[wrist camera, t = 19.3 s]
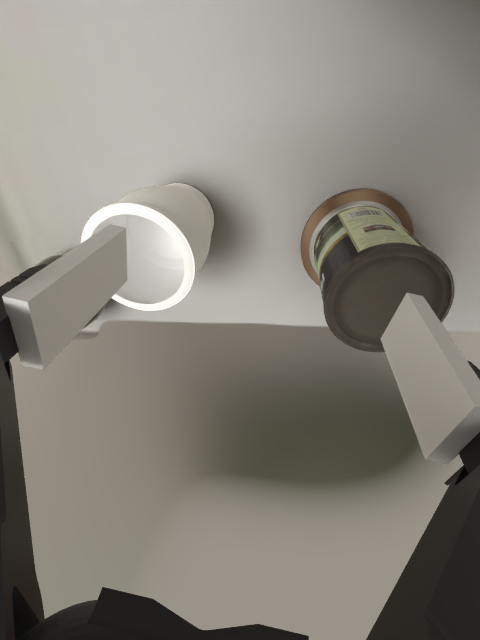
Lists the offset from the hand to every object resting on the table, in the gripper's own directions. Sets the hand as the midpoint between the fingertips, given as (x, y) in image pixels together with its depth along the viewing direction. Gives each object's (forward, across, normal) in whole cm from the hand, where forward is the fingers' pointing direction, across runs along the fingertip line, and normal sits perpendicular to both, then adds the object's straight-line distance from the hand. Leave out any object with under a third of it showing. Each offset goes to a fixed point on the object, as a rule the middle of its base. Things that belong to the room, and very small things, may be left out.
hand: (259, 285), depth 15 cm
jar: (+27, -11, -7) cm, 30 cm away
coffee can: (+25, +11, -5) cm, 28 cm away
